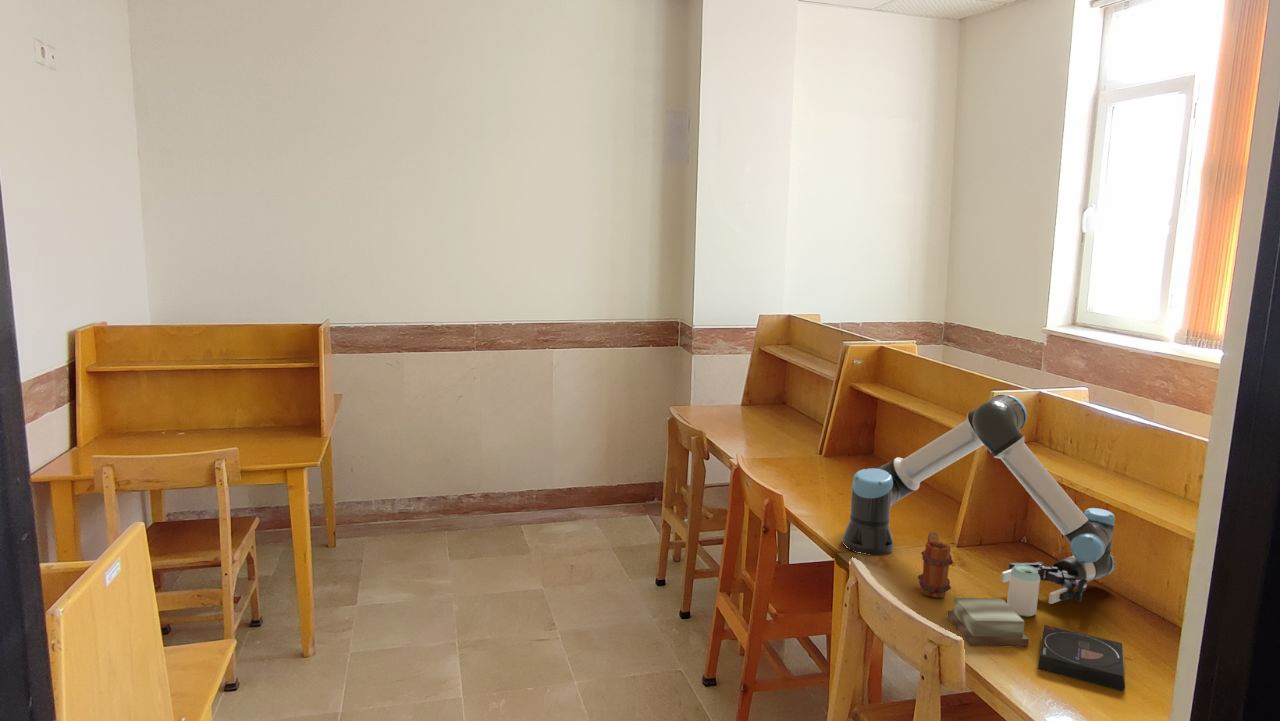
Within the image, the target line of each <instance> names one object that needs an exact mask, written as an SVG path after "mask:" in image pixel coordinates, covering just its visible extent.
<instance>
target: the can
mask: <svg viewBox="0 0 1280 721" xmlns="http://www.w3.org/2000/svg"><path fill="white" fill-rule="evenodd" d="M1040 582H1041V579H1040V576H1039V574H1038V570H1037V569H1036V568H1034V567H1032V566H1029V565H1024V564H1017V565H1015V566H1014V568H1013V569H1012V570H1011V572H1010V580H1009V581H1008V588H1007V590H1008V591H1007V599H1006V600H1007V601H1006V603H1007V604H1008V605H1009V606H1010V607H1011V608H1012V609H1013V610H1014V611H1015V612H1016V613H1017V614H1018V615H1019V616H1020V617H1022V616H1023V618H1030V617H1032V616H1035V615H1036V614H1037V608H1038V601H1039V600H1038V599H1039V592H1040Z"/></svg>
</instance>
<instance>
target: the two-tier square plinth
mask: <svg viewBox="0 0 1280 721" xmlns="http://www.w3.org/2000/svg"><path fill="white" fill-rule="evenodd" d="M953 603H954V604H953V610H950V609H949V610H947V614H946V615H947V617H946V619H948V621H949V620H950V621H951V622H952V623H951V622H950V621H949V622H950V623H951V624H952V625H954V626H955V627H956V628H955V627H954V626H953V627H954V628H955V630H956V631H957V632H958V631H959V632H960V633H959V632H958V633H959V634H960V635H961V634H962V635H961V637H962V636H963V637H962V638H963V639H964V641H965V642H966V643H967V644H968V645H969V647H1003V646H1020V647H1019V648H1023V647H1022V646H1025V647H1024V648H1029V641H1030V639H1029V638H1028V636H1026V635H1025V634H1024V630H1025V620H1024V619H1023V618H1022V616H1019V615H1018V614H1017V613H1016V612H1015V611H1014V610H1013V609H1012V608H1011V607H1010V606H1009V605H1008V604H1007V601H1005V600H1004V599H1003V598H994V597H993V598H991V597H987V598H986V597H954V602H953Z"/></svg>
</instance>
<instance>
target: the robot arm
mask: <svg viewBox="0 0 1280 721" xmlns="http://www.w3.org/2000/svg"><path fill="white" fill-rule="evenodd" d="M1027 419H1028V413H1027V408H1026V406H1025V405H1024V403H1023V402H1022V400H1020V398H1017V397H1016V396H1013V395H1011V394H996V395H995V396H993V397H991V398H990V399H989V400H987V401H985V402H984V403H982V404H980V405H979V406H977V407H976V408H974V409H972V410H971V411H969V412H968V413H966V419H965V421H963V422H961V423H960V424H958V425H957V426H955V427H953V428H952V429H950V430H948V431H947V432H946V433H943V434H942V435H941V436H938V437H937V438H935V439H934V440H932V441H931V442H929V443H926V445H923V447H921V448H919V449H918V450H916V451H914V452H913V453H911V454H910V455H907V456H906V457H905V458H903V457H895V458H893V459H891V460H890V461H889V462H887V463H885V464H882V465H880V467H878V468H876V467H875V468H874V467H873V468H871V467H870V468H869V467H868V468H867V469H866V468H863V469H860V470H858V471H856V473H855V474H854V475H853V479H852V483H851V500H850V513H849V514H850V515H849V521H848V523H847V526H846V528H845V530H844V533H843V535H842V542H843V543H844V544H845V545H846V546H847V547H848V548H850V549H851V550H854V551H856V552H861V553H866V554H870V555H869V556H885V555H888V554H890V553H892V552H893V550H894V541H893V540H894V539H893V536H892V533H891V531H892V530H891V528H890V516H891V515H890V514H891V507H892V506H893V505H895V504H896V503H898V502H899V501H900V500H902V499H904V498H905V497H907V496H909V495H910V494H912V493H914V492H916V491H917V490H919V488H920V486H921V485H920V484H921V482H923V481H924V480H926V479H928V478H930V477H931V476H933V475H935V474H937V473H938V472H940V471H941V470H944V469H945V468H947V467H949V466H951V465H952V464H953V463H955V462H957V461H958V460H960V459H962V458H964V457H966V456H967V455H969V454H970V453H973V452H974V451H976V450H977V449H979V448H981V447H983V446H984V447H985V448H986V449H987V450H988V451H989V453H990V454H991V455H992V456H993V458H995V459H1000V460H1001V461H1002V463H1003V464H1004V465H1005V466H1006V468H1007V469H1008V470H1009V471H1010V472H1011V473H1012V475H1013V476H1014V477H1015V478H1016V479H1017V481H1018V482H1019V483H1020V484H1021V485H1022V487H1023V488H1024V489H1025V491H1026V492H1027V493H1028V494H1029V495H1030V496H1031V499H1033V500H1034V502H1036V504H1037V505H1038V506H1039V508H1040V509H1041V510H1042V511H1043V512H1044V513H1045V515H1046V516H1047V517H1048V519H1050V520H1051V522H1052V523H1053V524H1054V526H1055V527H1056V528H1057V529H1058V530H1059V531H1060V533H1061V534H1062V535H1063V537H1064V538H1065V539H1066V541H1067V542H1068V543H1069V544H1070V551H1071V554H1072V556H1069V557H1065V558H1063V559H1060V560H1058V561H1056V562H1054V564H1053V565H1052V566H1044V565H1043V564H1044V562H1042V561H1036V562H1010V563H1008V564H1009V566H1008V569H1006V570H1005V571H1002V572H1001V575H1000V583H1002V584H1005V583H1007V582H1008V583H1009V580H1010V572H1011V570H1012V569H1013V568H1014V566H1015V565H1017V564H1024V565H1029V566H1032V567H1034V568H1036V569H1037V570H1038V574H1039V576H1040V581H1044V582H1045V581H1047V582H1050V583H1054V584H1057V585H1060V586H1061V588H1059V589H1057V590H1054V591H1051V592H1049V595H1048V604H1049V605H1050V604H1051V605H1052V604H1055V603H1058V602H1060V601H1067V600H1073V599H1074V600H1075V601H1076V602H1082V597H1083V592H1084V591H1086V590H1087V586H1088V583H1089V582H1092V581H1094V580H1098V579H1101V578H1105V577H1107V576H1108V575H1110V574H1111V572H1112V571H1113V570H1114V567H1115V566H1114V563H1115V561H1114V559H1113V556H1112V555H1111V553H1112V551H1111V550H1112V543H1113V536H1114V531H1115V527H1116V524H1115V521H1116V517H1115V514H1114V513H1113V512H1111V511H1109V510H1106V509H1102V508H1098V507H1097V508H1096V507H1091V508H1090V507H1089V508H1087V509H1085V511H1084V513H1083V511H1082V510H1081V509H1080V507H1078V505H1076V503H1075V502H1074V501H1073V499H1072V498H1071V497H1070V496H1069V495H1068V493H1067V492H1066V491H1065V490H1064V488H1063V487H1061V485H1060V484H1059V483H1058V482H1057V480H1056V479H1055V478H1054V477H1053V476H1052V474H1051V473H1050V471H1049V470H1048V469H1047V468H1046V467H1045V466H1044V464H1043V463H1041V461H1040V460H1039V459H1038V458H1037V456H1036V455H1035V453H1034V452H1032V450H1031V449H1030V447H1028V446H1027V444H1026V443H1025V436H1024V435H1023V434H1022V432H1021V431H1022V429H1023V428H1024V426H1025V425H1026V422H1027ZM843 543H842V544H843ZM851 550H850V551H851ZM856 552H855V553H856ZM884 554H885V555H884ZM1114 571H1115V570H1114ZM1114 571H1113V572H1114ZM1113 572H1112V573H1113ZM1044 575H1045V576H1044ZM1076 587H1077V588H1076ZM1075 588H1076V591H1075Z"/></svg>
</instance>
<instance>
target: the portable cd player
mask: <svg viewBox="0 0 1280 721" xmlns="http://www.w3.org/2000/svg"><path fill="white" fill-rule="evenodd" d="M1038 656H1039V658H1038V666H1037V670H1039V669H1040V671H1043V670H1044V671H1043V672H1047V671H1048V672H1047V673H1051V674H1056V675H1058V676H1062V677H1065V678H1066V677H1067V678H1070V679H1074V680H1077V681H1082V682H1086V683H1091V684H1093V685H1098V686H1100V687H1105V688H1108V689H1112V690H1113V689H1114V690H1116V691H1117V690H1118V691H1119V692H1120V691H1121V692H1124V690H1125V689H1126V680H1125V655H1124V648H1123V643H1122V642H1119V641H1115V640H1110V639H1106V638H1101V637H1098V636H1095V635H1090V634H1085V633H1081V632H1075V631H1072V630H1068V629H1065V628H1064V629H1063V628H1059V627H1056V626H1051V625H1048V624H1044V625H1043V631H1042V637H1041V644H1040V650H1039V655H1038Z"/></svg>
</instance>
